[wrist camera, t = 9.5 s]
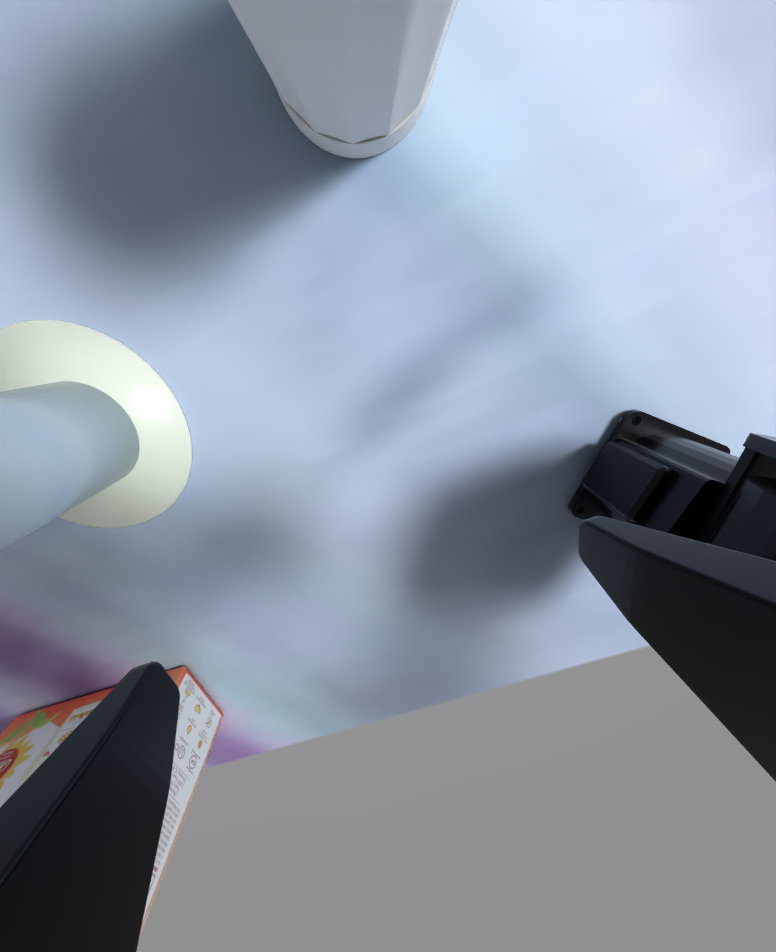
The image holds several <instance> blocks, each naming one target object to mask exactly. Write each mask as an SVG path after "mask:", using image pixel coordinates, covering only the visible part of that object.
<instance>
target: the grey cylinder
mask: <svg viewBox="0 0 776 952" xmlns="http://www.w3.org/2000/svg"><path fill="white" fill-rule="evenodd" d="M139 450H140V445H139V438H138V433H137V431H136V428H135V426H134V424H133V422H132V420H131V418H130V417H129V415H128V414H127V413H126V411H125V410H124V409H123V408H122V407H121V406H120V405H119V404H118V403H117V402H116V401H115V400H114V399H113V398H111V397H110V396H109V395H107V394H106V393H104V392H103V391H101V390H99V389H97V388H95V387H92V386H90V385H87V384H83V383H80V382H73V381H60V382H53V383H47V384H41V385H36V386H30V387H24V388H18V389H13V390H7V391H1V392H0V551H2V550H4V549H5V548H7V547H9V546H10V545H12V544H14V543H15V542H17V541H19V540H20V539H22V538H24V537H25V536H27V535H29V534H30V533H32V532H34V531H35V530H37V529H39V528H40V527H42V526H44V525H45V524H47V523H49V522H50V521H52V520H54V519H55V518H57V517H59V516H60V515H62V514H64V513H65V512H67V511H69V510H70V509H72V508H74V507H75V506H77V505H79V504H80V503H82V502H84V501H85V500H87V499H89V498H90V497H92V496H94V495H95V494H97V493H99V492H100V491H102V490H104V489H105V488H107V487H109V486H110V485H112V484H114V483H115V482H117V481H119V480H120V479H122V478H124V477H125V476H127V475H128V474H129V473H130V472H131V471H132V470H133V468H134V467H135V465H136V463H137V460H138V457H139Z"/></svg>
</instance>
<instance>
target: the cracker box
mask: <svg viewBox="0 0 776 952" xmlns="http://www.w3.org/2000/svg"><path fill="white" fill-rule="evenodd" d="M167 672H168V674H169V675H170V676H171V678H172V679H173V680H174V682H175V683H176V684H177V686H178V688H179V692H180V704H179V713H178V722H177V731H176V740H175V749H174V759H173V768H172V776H171V783H170V789H169V794H168V800H167V805H166V810H165V815H164V820H163V825H162V829H161V834H160V839H159V844H158V849H157V854H156V859H155V863H154V868H153V873H152V878H151V883H150V888H149V893H148V897H147V902H146V907H145V912H144V917H143V922H142V927H141V931H140V935H141V932H142V929H143V927H144V924H145V921H146V919H147V916H148V914H149V911H150V908H151V906H152V903H153V900H154V898H155V895H156V892H157V890H158V887H159V884H160V882H161V879H162V876H163V874H164V871H165V868H166V866H167V863H168V860H169V858H170V855H171V853H172V850H173V847H174V845H175V842H176V839H177V836H178V834H179V831H180V829H181V826H182V823H183V821H184V818H185V815H186V813H187V810H188V807H189V804H190V802H191V799H192V797H193V794H194V792H195V789H196V786H197V784H198V781H199V778H200V776H201V772H202V770H203V768H204V765H205V763H206V760H207V757H208V754H209V752H210V749H211V746H212V744H213V741H214V738H215V735H216V733H217V730H218V728H219V725H220V722H221V719H222V717H223V713H222V712H221V710H220V709H219V708H218V707H217V706H216V705H215V703H214V702H213V701H212V699H211V698H210V697H209V695H208V694H207V693H206V692H205V691H204V689H203V688H202V687H201V685H200V684H199V683H198V681H197V680H196V679H195V678H194V676H193V675H192V674H191V673H190V671H189V670H188V669H187V668H186V667H185V666H182V667H179V668H175V669H172V670H169V671H167ZM113 688H114V687H113ZM113 688H110V689H106V690H103V691H99V692H96V693H92V694H89V695H86V696H83V697H79V698H76V699H73V700H70V701H66V702H63V703H60V704H56V705H53V706H49V707H46V708H43V709H39V710H36V711H33V712H29V713H26V714H22V715H20V716H17V717H16V718H15V719H14V720H13V721H12V722H11V723H10V724H9V725H8V727H7V728H6V729H5V730H4V731H3V732H2V733H1V734H0V807H1V806H2V805H3V804H4V803H5V802H6V801H7V799H8V798H9V797H10V796H11V795H12V794H13V793H14V792H15V791H16V790H17V789H18V788H19V787H20V786H21V785H22V784H23V783H24V782H25V781H26V780H27V779H28V777H29V776H30V775H31V774H32V773H33V772H34V771H35V770H36V769H37V768H38V767H39V766H40V765H41V764H42V763H43V762H44V761H45V760H46V759H47V758H48V756H49V755H50V754H51V753H52V752H53V751H54V750H55V749H56V748H57V747H58V746H59V745H60V744H61V743H62V742H63V741H64V740H65V739H66V738H67V737H68V736H69V734H70V733H71V732H72V731H73V730H74V729H75V728H76V727H77V726H78V725H79V724H80V723H81V722H82V721H83V720H84V719H85V718H86V717H87V716H88V715H89V714H90V712H91V711H92V710H93V709H94V708H95V707H96V706H97V705H98V704H99V703H100V702H101V701H102V700H103V699H104V698H105V697H106V696H107V695H108V694H109V693H110V691H111V690H112V689H113ZM139 938H140V936H139Z"/></svg>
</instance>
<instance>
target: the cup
mask: <svg viewBox="0 0 776 952" xmlns="http://www.w3.org/2000/svg"><path fill="white" fill-rule="evenodd" d="M228 2H229V4H230V6H231V7H232V9H233V11H234V13H235V14H236V16H237V18H238V20H239V22H240V23H241V25H242V27H243V29H244V30H245V32H246V34H247V36H248V38H249V39H250V41H251V43H252V45H253V46H254V48H255V50H256V52H257V54H258V55H259V57H260V59H261V61H262V62H263V64H264V66H265V68H266V70H267V71H268V73H269V75H270V77H271V79H272V80H273V82H274V85H275V87H276V89H277V92H278V94H279V96H280V99H281V101H282V103H283V105H284V107H285V109H286V111H287V113H288V114H289V116H290V117H291V119H292V120H293V122H294V123H295V124H296V126H297V127H298V128H299V129H300V131H301V132H302V133H303V134H304V135H305V136H306V137H307V138H308V139H309V140H311V141H312V142H313V143H314V144H316V145H317V146H319V147H320V148H322V149H324V150H325V151H327V152H330V153H332V154H334V155H337V156H341V157H346V158H367V157H372V156H375V155H378V154H380V153H383V152H385V151H387V150H388V149H390V148H392V147H393V146H395V145H396V144H397V143H398V142H400V141H401V140H402V139H403V138H404V137H405V136H406V135H407V134H408V132H409V131H410V130H411V129H412V127H413V126H414V125H415V123H416V122H417V120H418V118H419V117H420V115H421V113H422V111H423V109H424V107H425V104H426V102H427V99H428V96H429V93H430V90H431V86H432V82H433V78H434V74H435V69H436V65H437V61H438V57H439V55H440V52H441V49H442V46H443V43H444V40H445V37H446V34H447V32H448V29H449V26H450V23H451V20H452V17H453V14H454V11H455V9H456V6H457V3H458V0H228Z"/></svg>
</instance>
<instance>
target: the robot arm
mask: <svg viewBox="0 0 776 952" xmlns="http://www.w3.org/2000/svg"><path fill="white" fill-rule="evenodd" d="M634 417H636V421H635V422H634V423H632V419H633V418H634ZM743 446H744V447H745V449H744V451H743V453H742V454H741V456H740V458H739V457H736V456H733V455H731V454H730V449H729V448H728V447H727V446H725V445H722V444H720V443H717V442H715V441H712V440H710V439H707V438H705V437H703V436H700V435H698V434H695V433H693V432H690V431H688V430H685V429H683V428H681V427H678V426H676V425H673V424H671V423H668V422H666V421H664V420H661V419H659V418H656V417H654V416H651V415H649V414H646V413H644V412H641V411H638V410H630V411H628V412H627V413H626V414H625V415H624V416H623V418H622V419H621V421H620V423H619V424H618V426H617V428H616V429H615V431H614V432H613V434H612V436H611V437H610V439H609V441H608V442H607V443H606V444H605V446H604V448H603V449H602V451H601V453H600V454H599V456H598V457H597V459H596V461H595V462H594V464H593V466H592V467H591V469H590V470H589V472H588V474H587V475H586V477H585V479H584V480H583V483H582V484H581V486H580V488H579V489H578V491H577V492H576V494H575V496H574V497H573V499H572V501H571V502H570V504H569V506H568V509H569V511H570V513H571V514H572V515H574V516H575V517H578V518H581V519H584V520H583V521H582V522H581V523H580V525H579V555H580V557H581V559H582V561H583V563H584V564H585V565H586V567H587V568H588V569H589V571H590V572H591V573H592V575H593V576H594V577H595V578H596V580H597V581H598V582H599V584H600V585H601V586H602V588H603V589H604V590H605V592H606V593H607V594H608V596H609V597H610V598H611V600H612V601H613V602H614V603H615V605H616V606H617V607H618V609H619V610H620V611H621V613H622V614H623V615H624V616H625V618H626V619H627V620H628V621H629V622H630V623H631V625H632V626H633V627H634V628H635V629H636V630H637V631H638V632H639V634H640V635H641V636H642V637H643V638H644V639H645V640H646V641H647V642H648V643H649V644H650V646H651V647H652V648H653V649H654V650H655V651H656V652H657V653H658V654H659V655H660V656H661V657H662V659H663V660H664V661H665V662H666V663H667V664H668V665H669V666H670V667H671V668H672V669H673V670H674V671H675V673H676V674H677V675H678V676H679V677H680V678H681V679H682V680H683V681H684V682H685V683H686V685H687V686H688V687H689V688H690V689H691V690H692V691H693V692H694V693H695V694H696V695H697V696H698V698H699V699H700V700H701V701H702V702H703V703H704V704H705V705H706V706H707V707H708V708H709V709H710V711H711V712H712V713H713V714H714V715H715V716H716V717H717V718H718V719H719V720H720V722H721V723H722V724H723V725H724V726H725V727H726V728H727V729H728V730H729V731H730V732H731V733H732V735H733V736H734V737H735V738H736V739H737V740H738V741H739V742H740V743H741V744H742V745H743V746H744V748H745V749H746V750H747V751H748V752H749V753H750V754H751V755H752V756H753V757H754V758H755V760H756V761H758V763H759V764H760V765H761V766H762V767H763V768H764V769H765V770H766V771H767V772H768V774H769V775H770V776H771V777H772V778H773V779H774V780H775V781H776V438H775V437H770V436H765V435H760V434H755V433H750V434H749V436H748V437H747V439H746V441H745V443H744V444H743ZM578 506H581V508H580V509H579V510H576V508H577V507H578ZM179 704H180V692H179V688H178V686H177V684H176V683H175V682H174V680H173V679H172V678H171V676H170V675H169V674H168V672H167V671H166V670H165V669H164V667H163V666H162V665H161V664H160V663H158V662H150V663H147V664H144V665H141V666H138V667H135V668H133V669H132V670H131V671H130V672H129V673H128V674H127V675H126V676H125V677H124V678H123V679H122V680H121V681H120V682H119V683H118V684H117V685H116V686H115V687H114V688H113V689H112V690H111V691H110V693H109V694H108V695H107V696H106V697H105V698H104V699H103V700H102V701H101V702H100V703H99V704H98V705H97V706H96V707H95V708H94V709H93V710H92V711H91V712H90V714H89V715H88V716H87V717H86V718H85V719H84V720H83V721H82V722H81V723H80V724H79V725H78V726H77V727H76V728H75V729H74V730H73V731H72V732H71V733H70V734H69V736H68V737H67V738H66V739H65V740H64V741H63V742H62V743H61V744H60V745H59V746H58V747H57V748H56V749H55V750H54V751H53V752H52V753H51V754H50V755H49V756H48V758H47V759H46V760H45V761H44V762H43V763H42V764H41V765H40V766H39V767H38V768H37V769H36V770H35V771H34V772H33V773H32V774H31V775H30V776H29V777H28V779H27V780H26V781H25V782H24V783H23V784H22V785H21V786H20V787H19V788H18V789H17V790H16V791H15V792H14V793H13V794H12V795H11V796H10V797H9V798H8V799H7V801H6V802H5V803H4V804H3V805H2V806H1V807H0V952H136V951H137V946H138V941H139V936H140V931H141V927H142V922H143V917H144V912H145V907H146V902H147V897H148V893H149V888H150V883H151V878H152V873H153V868H154V863H155V859H156V854H157V849H158V844H159V839H160V834H161V829H162V825H163V820H164V815H165V810H166V805H167V800H168V794H169V789H170V783H171V776H172V768H173V759H174V749H175V740H176V731H177V722H178V713H179Z"/></svg>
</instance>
